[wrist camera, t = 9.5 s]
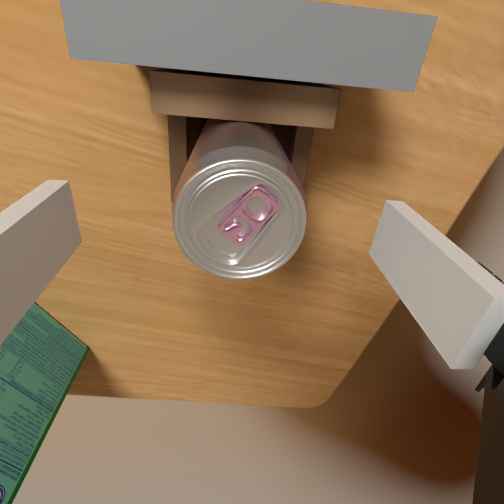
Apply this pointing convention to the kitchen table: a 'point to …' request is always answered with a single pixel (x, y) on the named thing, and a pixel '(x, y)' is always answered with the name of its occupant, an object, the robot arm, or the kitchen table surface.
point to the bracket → (240, 109)
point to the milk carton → (32, 390)
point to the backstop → (255, 39)
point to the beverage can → (239, 202)
